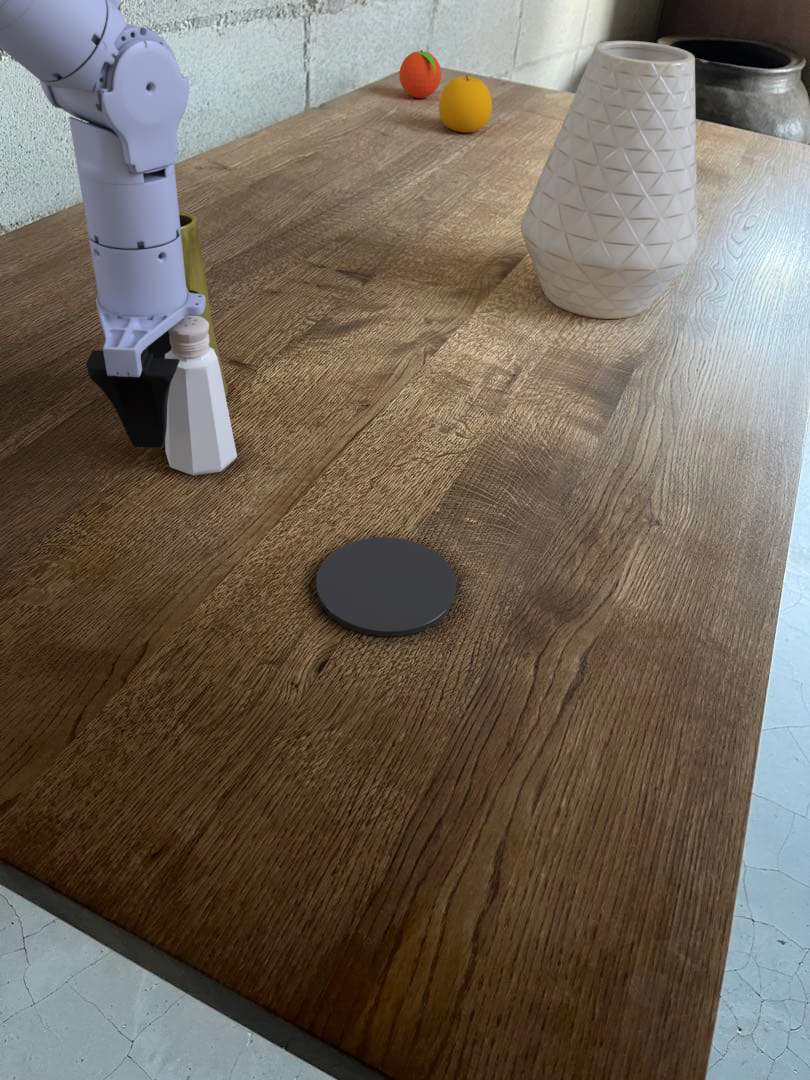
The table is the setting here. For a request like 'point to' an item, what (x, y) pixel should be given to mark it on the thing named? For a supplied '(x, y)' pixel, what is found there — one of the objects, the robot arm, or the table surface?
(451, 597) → the slate coaster
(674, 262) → the vase
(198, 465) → the pepper shaker
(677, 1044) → the table surface
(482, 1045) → the table surface
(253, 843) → the table surface
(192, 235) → the vase
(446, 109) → the apple
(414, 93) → the clementine
